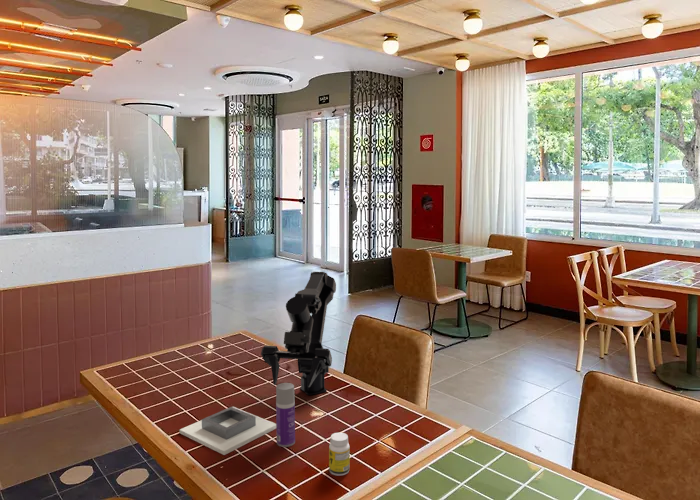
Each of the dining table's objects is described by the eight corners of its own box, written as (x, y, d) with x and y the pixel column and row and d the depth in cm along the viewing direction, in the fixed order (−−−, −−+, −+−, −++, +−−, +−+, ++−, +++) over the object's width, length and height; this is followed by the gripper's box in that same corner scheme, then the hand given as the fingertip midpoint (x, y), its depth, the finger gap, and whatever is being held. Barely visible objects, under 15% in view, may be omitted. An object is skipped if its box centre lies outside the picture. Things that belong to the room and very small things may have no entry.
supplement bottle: (328, 465, 126) (328, 431, 125) (348, 464, 126) (348, 430, 125) (329, 476, 121) (329, 441, 120) (350, 476, 121) (350, 441, 120)
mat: (233, 409, 155) (233, 406, 155) (277, 427, 144) (277, 424, 144) (179, 433, 141) (179, 429, 141) (224, 455, 130) (224, 451, 130)
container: (291, 447, 134) (291, 390, 132) (274, 445, 135) (273, 388, 132) (297, 438, 138) (296, 383, 136) (280, 437, 139) (279, 381, 137)
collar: (231, 415, 149) (231, 406, 149) (255, 425, 143) (255, 416, 143) (201, 428, 141) (201, 419, 141) (226, 439, 135) (226, 430, 135)
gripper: (262, 316, 145) (249, 370, 136) (330, 319, 143) (322, 374, 133) (271, 336, 154) (259, 388, 145) (335, 339, 151) (328, 392, 142)
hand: (291, 385), depth 141 cm, fingers open, 9 cm apart
